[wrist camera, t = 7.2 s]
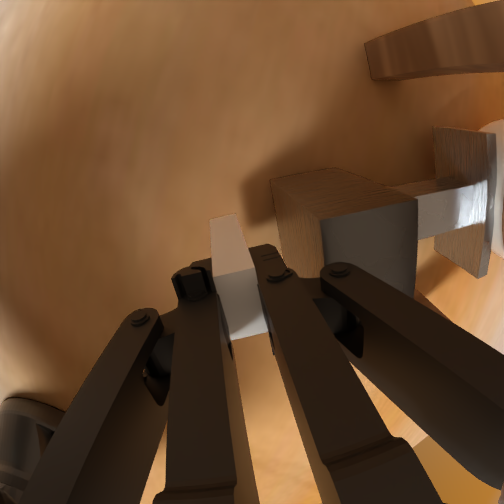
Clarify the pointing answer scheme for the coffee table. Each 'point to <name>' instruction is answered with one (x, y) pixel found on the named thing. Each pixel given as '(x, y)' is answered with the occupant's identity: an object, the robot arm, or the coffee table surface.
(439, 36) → the bridge
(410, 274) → the cube and plate dumbbell
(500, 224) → the lidded jar
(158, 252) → the coffee table surface
